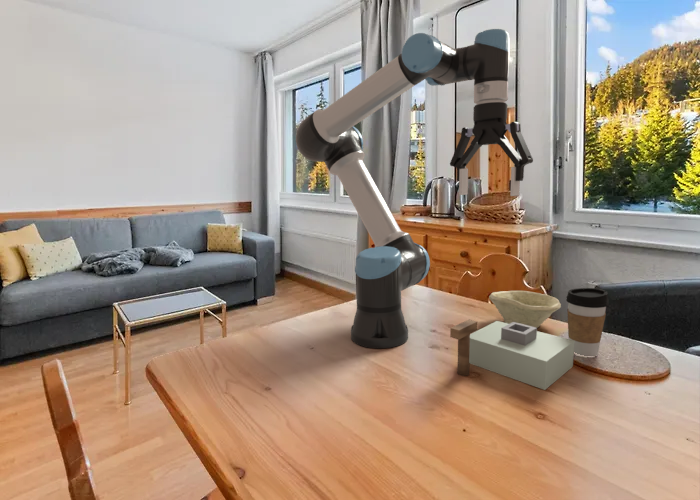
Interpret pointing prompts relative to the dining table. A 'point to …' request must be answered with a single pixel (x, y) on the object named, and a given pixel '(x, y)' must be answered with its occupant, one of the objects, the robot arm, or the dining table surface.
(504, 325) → the socket box
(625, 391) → the dining table surface
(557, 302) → the bowl
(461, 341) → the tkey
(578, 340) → the coffee cup
